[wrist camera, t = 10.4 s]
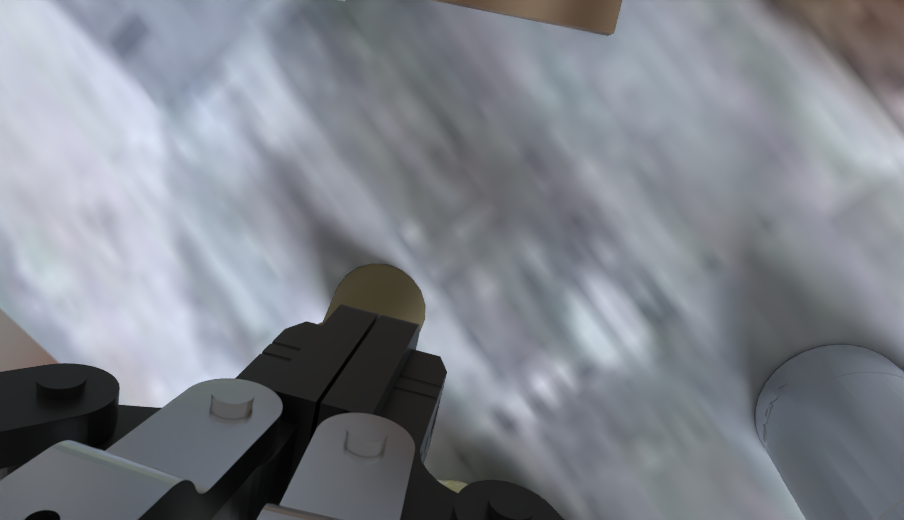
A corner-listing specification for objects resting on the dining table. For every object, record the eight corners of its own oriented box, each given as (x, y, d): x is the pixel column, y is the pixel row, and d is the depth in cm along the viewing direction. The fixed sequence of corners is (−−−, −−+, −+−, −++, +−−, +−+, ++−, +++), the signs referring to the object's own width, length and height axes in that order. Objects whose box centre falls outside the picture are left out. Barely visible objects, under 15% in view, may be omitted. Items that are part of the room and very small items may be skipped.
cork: (317, 284, 45) (250, 352, 34) (400, 248, 44) (357, 308, 33) (359, 364, 46) (306, 453, 36) (441, 332, 45) (411, 415, 34)
